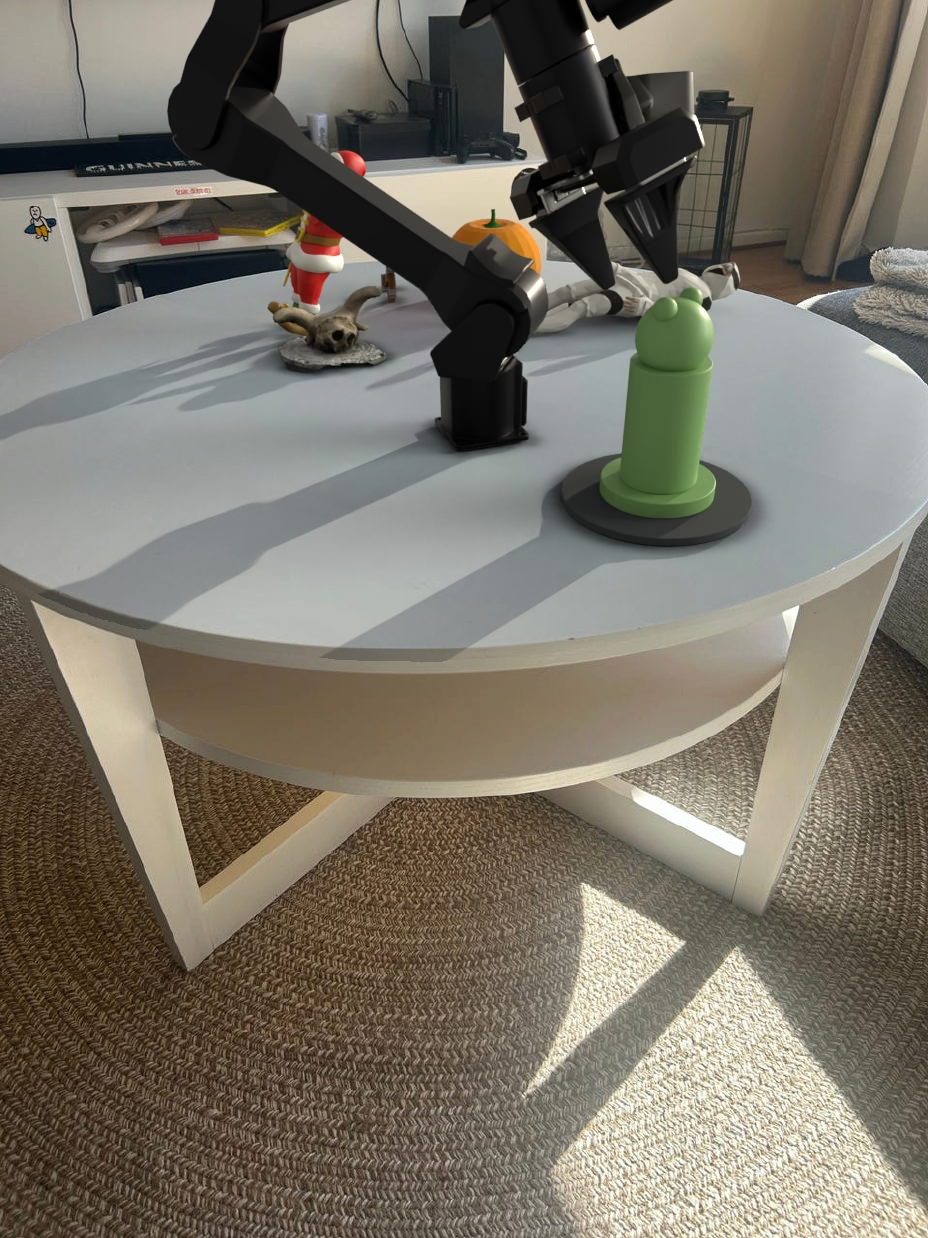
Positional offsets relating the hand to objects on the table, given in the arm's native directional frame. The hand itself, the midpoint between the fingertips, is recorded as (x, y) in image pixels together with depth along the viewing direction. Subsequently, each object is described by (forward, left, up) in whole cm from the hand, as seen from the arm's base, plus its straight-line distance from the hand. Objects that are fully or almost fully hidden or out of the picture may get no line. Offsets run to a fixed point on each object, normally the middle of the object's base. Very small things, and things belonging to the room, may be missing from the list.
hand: (638, 284), depth 70 cm
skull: (-18, +31, -14) cm, 39 cm away
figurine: (+15, +31, -14) cm, 37 cm away
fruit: (+5, +44, -14) cm, 47 cm away
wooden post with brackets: (-6, +49, -14) cm, 51 cm away
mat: (-2, -9, -13) cm, 16 cm away
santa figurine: (-20, +40, -13) cm, 47 cm away
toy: (-2, -9, -13) cm, 15 cm away
